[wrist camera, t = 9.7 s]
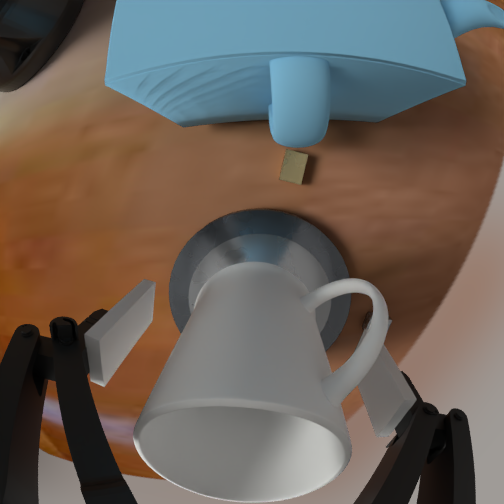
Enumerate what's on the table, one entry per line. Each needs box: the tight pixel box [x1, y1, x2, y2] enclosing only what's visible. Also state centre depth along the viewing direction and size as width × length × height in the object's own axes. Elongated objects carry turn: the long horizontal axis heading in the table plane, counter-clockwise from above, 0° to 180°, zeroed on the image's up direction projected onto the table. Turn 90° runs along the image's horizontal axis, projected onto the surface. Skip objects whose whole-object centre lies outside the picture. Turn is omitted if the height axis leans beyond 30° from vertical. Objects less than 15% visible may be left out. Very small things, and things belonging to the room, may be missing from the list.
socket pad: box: [169, 149, 392, 351], centre depth 19 cm, size 21×17×1 cm
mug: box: [133, 262, 388, 503], centre depth 13 cm, size 12×8×12 cm
